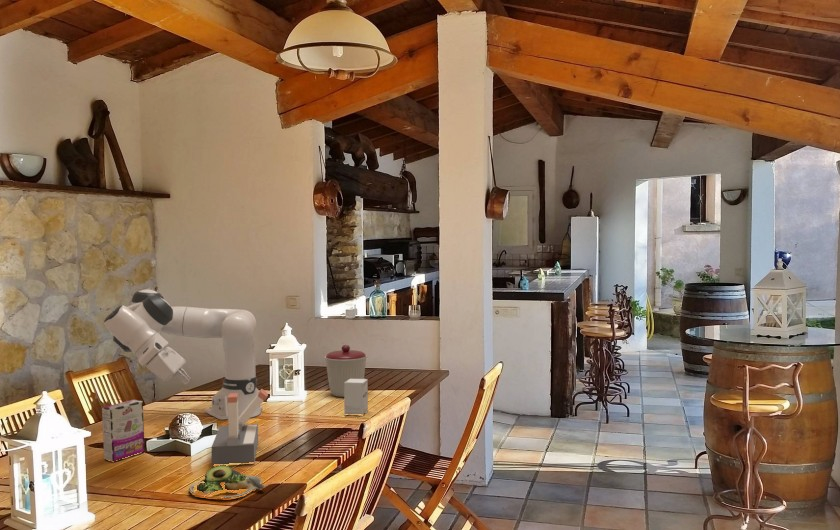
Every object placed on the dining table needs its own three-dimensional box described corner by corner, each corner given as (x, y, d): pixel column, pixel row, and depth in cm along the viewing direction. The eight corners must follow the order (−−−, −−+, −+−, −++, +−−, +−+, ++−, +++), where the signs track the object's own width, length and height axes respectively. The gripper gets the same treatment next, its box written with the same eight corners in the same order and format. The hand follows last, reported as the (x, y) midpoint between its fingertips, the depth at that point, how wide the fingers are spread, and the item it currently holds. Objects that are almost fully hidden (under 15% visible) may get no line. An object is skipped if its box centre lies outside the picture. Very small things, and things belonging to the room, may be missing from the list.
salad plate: (281, 483, 188) (281, 466, 188) (241, 507, 172) (241, 489, 172) (223, 475, 196) (223, 458, 195) (179, 497, 179) (179, 479, 179)
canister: (362, 388, 302) (361, 340, 301) (372, 397, 285) (372, 347, 284) (321, 391, 296) (320, 343, 295) (329, 401, 279) (328, 349, 278)
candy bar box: (135, 450, 217) (133, 398, 217) (145, 453, 215) (144, 400, 214) (102, 460, 208) (101, 406, 207) (112, 463, 205) (111, 408, 204)
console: (211, 467, 201) (211, 438, 200) (220, 444, 223) (219, 418, 223) (254, 464, 203) (253, 436, 202) (258, 442, 225) (257, 416, 225)
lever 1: (228, 444, 202) (227, 397, 202) (230, 439, 208) (229, 393, 207) (237, 443, 203) (236, 397, 202) (239, 438, 208) (238, 393, 207)
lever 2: (232, 426, 217) (260, 392, 218) (233, 422, 222) (261, 388, 223) (239, 431, 218) (267, 396, 219) (240, 427, 223) (268, 393, 224)
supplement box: (363, 416, 255) (362, 382, 255) (343, 415, 257) (343, 382, 256) (368, 411, 263) (368, 378, 262) (349, 410, 264) (349, 378, 264)
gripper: (153, 352, 212) (187, 382, 213) (137, 364, 191) (174, 397, 193) (168, 337, 212) (201, 367, 214) (153, 347, 192) (190, 381, 194)
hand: (188, 382), depth 203 cm, fingers closed
